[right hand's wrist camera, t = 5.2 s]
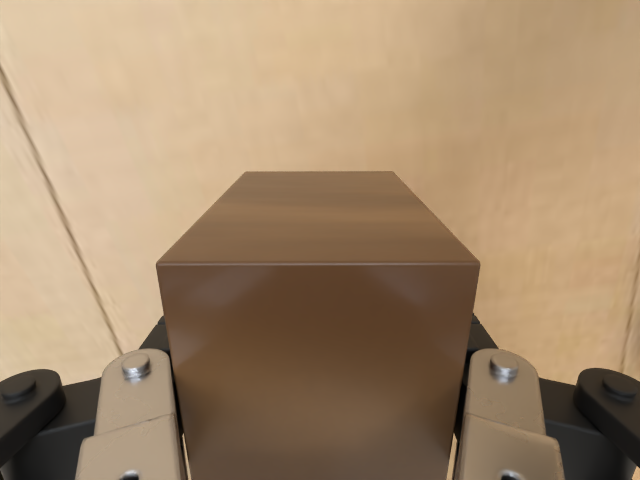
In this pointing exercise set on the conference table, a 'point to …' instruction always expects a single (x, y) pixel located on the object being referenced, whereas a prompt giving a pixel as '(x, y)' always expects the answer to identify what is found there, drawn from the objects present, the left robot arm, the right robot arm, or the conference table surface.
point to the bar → (318, 330)
